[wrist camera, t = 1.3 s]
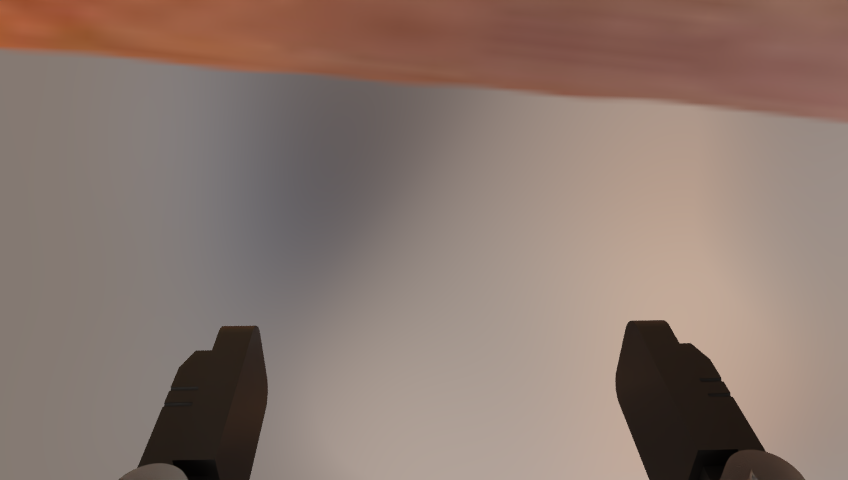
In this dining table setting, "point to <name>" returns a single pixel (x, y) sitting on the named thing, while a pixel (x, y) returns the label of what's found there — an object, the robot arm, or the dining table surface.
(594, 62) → the dining table surface
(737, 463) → the robot arm
